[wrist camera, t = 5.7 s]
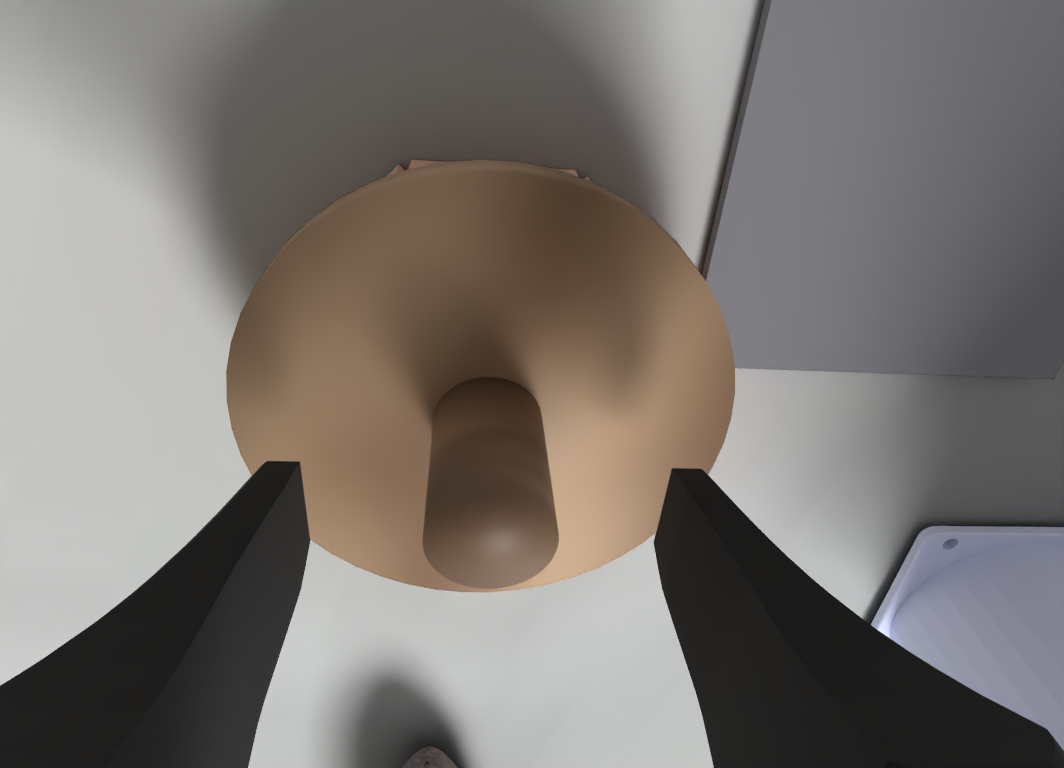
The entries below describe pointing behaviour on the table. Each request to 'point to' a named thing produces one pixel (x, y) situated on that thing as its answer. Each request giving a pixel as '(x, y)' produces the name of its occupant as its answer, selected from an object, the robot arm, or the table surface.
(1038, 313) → the mat
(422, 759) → the perforated stone tool
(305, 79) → the table surface
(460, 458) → the lid
